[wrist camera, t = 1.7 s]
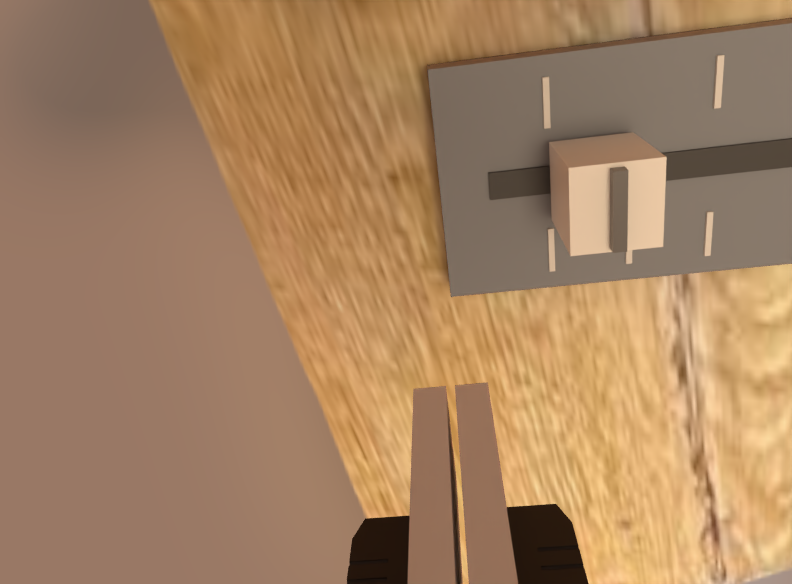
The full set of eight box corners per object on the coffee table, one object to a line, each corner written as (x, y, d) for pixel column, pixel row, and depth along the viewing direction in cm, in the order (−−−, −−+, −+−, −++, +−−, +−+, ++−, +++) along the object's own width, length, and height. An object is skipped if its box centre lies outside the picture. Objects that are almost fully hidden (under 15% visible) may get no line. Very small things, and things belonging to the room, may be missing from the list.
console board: (427, 64, 34) (427, 70, 32) (1003, -10, 32) (1042, -9, 30) (449, 281, 39) (451, 298, 37) (949, 232, 37) (980, 247, 34)
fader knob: (549, 142, 33) (571, 171, 28) (633, 132, 33) (671, 160, 27) (551, 219, 35) (573, 261, 29) (631, 211, 34) (667, 252, 29)
